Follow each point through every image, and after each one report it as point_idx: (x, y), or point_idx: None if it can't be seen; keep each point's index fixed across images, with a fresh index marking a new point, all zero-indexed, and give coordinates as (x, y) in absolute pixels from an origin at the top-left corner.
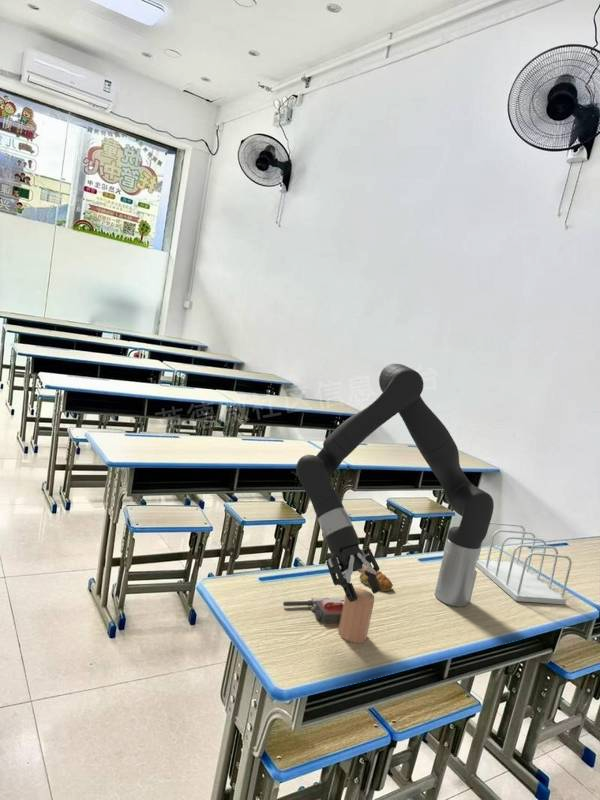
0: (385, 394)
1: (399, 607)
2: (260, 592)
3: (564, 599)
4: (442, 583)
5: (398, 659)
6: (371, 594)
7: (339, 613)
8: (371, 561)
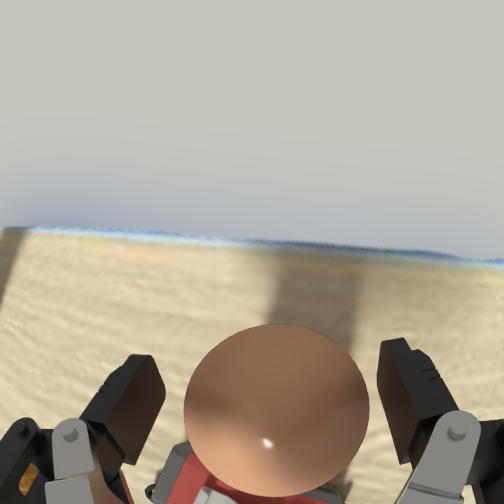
0: None
1: (51, 403)
2: None
3: None
4: None
5: (253, 249)
6: (195, 384)
7: None
8: (13, 487)
